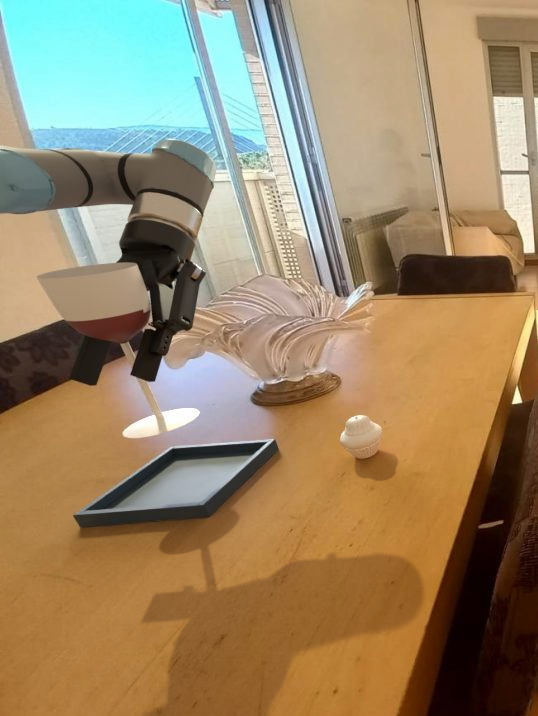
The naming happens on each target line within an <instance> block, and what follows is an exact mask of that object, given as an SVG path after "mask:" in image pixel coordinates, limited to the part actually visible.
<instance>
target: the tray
mask: <svg viewBox="0 0 538 716" xmlns="http://www.w3.org/2000/svg"><path fill="white" fill-rule="evenodd" d="M279 450H280V448H279V445H278V443H277V440H276V439H275V438H272V439H270V438H269V439H255V440H243V441H229V442H216V443H215V442H214V443H201V444H200V443H199V444H188V445H187V444H186V445H173V446H169V447H168V448H167V449H165V450H164V451H162V452H160V453H159V454H158V455H157V456H155V457H153V458H152V459H151V460H150V461H148V462H147V463H145V464H143V465H142V466H141V467H139V468H138V469H137V470H136V471H134V472H132V473H131V474H129V475H128V476H126V477H125V478H124V479H122V480H121V481H119V482H118V483H117V484H115V485H114V486H112V487H110V489H108V490H106V491H105V492H104V493H102V494H101V495H100V496H98V497H96V498H95V499H94V500H92V501H90V503H88V504H87V505H86V506H84V507H83V508H81V509H80V510H78V511H77V512H75V513H74V514H73V515H72V517H73V519H74V520H75V522H76V523H77V525H78V526H79V528H90V527H91V528H92V527H102V526H115V525H130V524H140V523H141V524H142V523H152V522H153V523H154V522H165V521H176V520H177V521H178V520H189V519H190V520H191V519H202V518H210V517H211V516H212V515H213V514H214V513H215V512H216V511H217V510H218V509H219V508H221V506H223V504H224V503H225V502H226V501H227V500H228V499H230V497H232V496H233V495H234V494H235V493H236V492H237V491H238V490H239V489H240V488H241V487H242V486H243V485H244V484H245V483H247V481H248V480H249V479H250V478H251V477H253V475H255V473H257V471H258V470H260V469H261V468H262V467H263V466H264V465H265V464H267V462H268V461H269V460H270V459H271V458H272V457H273V456H274V455H275V454H276V453H277V452H278V451H279Z"/></svg>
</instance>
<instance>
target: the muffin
mask: <svg viewBox="0 0 538 716" xmlns="http://www.w3.org/2000/svg"><path fill="white" fill-rule="evenodd" d="M344 426H345V428H344V430H343V432H342V433H341V434H340V438H339V442H340V445H342V447H344V449H345V450H346V451H347V452H348V453H350V454H351V455H352V456H354V457H355V458H356V459H359V460H363V459H368V458H370V457H371V458H372V457H373V456H374V455H376V454H377V453H378V451H379V448H380V444H381V441H382V435H383V428H382V427H381V426H380V424H377V423H376V422H374V421H372V420H371V419H370V418H369V416H367V415H365V414H364V415H363V414H358V415H355V416H352V417H350V418H348V420H347V421H346V422H345V425H344Z"/></svg>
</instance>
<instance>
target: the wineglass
mask: <svg viewBox="0 0 538 716" xmlns="http://www.w3.org/2000/svg"><path fill="white" fill-rule="evenodd" d="M36 279H37V280H38V282H39V284H40V286H41V287H42V289H43V291H44V292H45V294H46V296H47V297H48V299H49V300H50V302H51V303H52V305H53V307H54V308H55V310H56V311H57V313H58V314H59V315H60V316H61V318H62V319H63V320H64V321H65V322H66V323H67V324H69V325H71V326H72V327H73V328H74V329H75V330H77V331H78V332H80V333H82V334H84V335H86V336H89V337H92V338H96V339H100V340H107V341H112V342H114V343H118V344H119V345H120V347H121V350H122V352H123V354H124V355H125V357H126V359H127V362H128V363H129V366H130V367H131V369H132V367H133V364H134V361H135V358H136V355H135V352H134V350H133V349H132V346H131V344H130V342H129V341H130V340H131V339H133V337H135V336H136V335H137V334H139V333H140V332H141V331H142V330H143V329H145V327H146V326H147V325H148V323H149V321H150V319H151V312H152V311H151V301H150V295H149V293H148V291H147V290H146V287H145V284H144V281H143V278H142V275H141V273H140V270H139V268H138V265H137V264H136V263H116V262H112V263H111V262H109V263H98V264H90V265H89V264H88V265H81V266H74V267H68V268H62V269H58V270H53V271H52V270H51V271H49V272H44V273H41V274H38V275H37V276H36ZM78 332H77V333H78ZM80 333H79V334H80ZM112 342H111V343H112ZM135 378H136V380H137V382H138V384H139V386H140V388H141V391H142V392H143V394H144V397H145V398H146V401H147V403H148V405H149V408H151V411H152V413H153V415H150V416H147V417H145V418H142V419H139V420H138V421H136V422H134V423H132V424H130V425H129V426H127V427H126V428H125V429H124V430H123V431H122V433H121V434H122V436H123V437H124V438H128V439H142V438H149V437H153V436H156V435H161V434H165V433H168V432H170V431H174V430H176V429H179V428H181V427H183V426H185V425H187V424H189V423H191V422H193V421H195V420H196V419H197V417H199V414H200V410H198V409H197V408H191V407H188V408H186V407H185V408H177V409H176V408H175V409H171V410H167V411H162V410H161V408H160V406H159V404H158V401H157V399H156V397H155V395H154V392H153V390H152V388H151V386H150V384H149V382H148V381H145V380H142V379H140V378H137V377H135Z"/></svg>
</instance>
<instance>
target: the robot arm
mask: <svg viewBox="0 0 538 716" xmlns="http://www.w3.org/2000/svg"><path fill="white" fill-rule="evenodd" d="M216 173H217V165H216V163H215V161H214V159H213V158H212V157H211V156H210V155H209V154H208V152H206V151H205V150H203V149H202V148H200V147H198V146H197V145H195V144H194V143H190V142H188V141H185V140H181V139H177V138H165V139H162V140H159V141H157V142H156V143H155V146H154V147H152V149H151V153H141V152H129V153H128V152H117V151H104V150H92V149H91V150H90V149H84V148H77V147H75V148H71V147H70V148H69V147H63V148H25V147H14V146H7V145H2V144H0V214H2V215H3V214H10V215H11V214H12V215H28V214H32V213H37V212H46V211H53V210H62V209H64V210H65V209H71V208H72V209H73V208H84V207H85V208H86V207H95V206H105V205H125V206H127V205H129V206H130V205H131V209H130V211H129V214H128V216H127V223H125V225H124V228H123V231H122V233H121V237H120V238H119V241H118V245H119V246H118V247H119V248H120V252H121V257H119V259H118V260H117V261H116V262H115V263H136V264H137V265H138V268H139V270H140V273H141V275H142V278H143V281H144V284H145V287H146V290H147V292H149V300H150V307H151V311H150V312H151V322H148V323H147V325H148V326H150V327H151V328H144V331H143V333H142V337H141V340H140V343H139V346H138V350H137V353H136V355H135V357H136V358H135V361H134V364H133V367H132V368H131V371H130V373H129V375H130V376H131V377H134V378H136V377H137V378H140V379H142V380H145V381H147V382H148V383H154V382H156V380H157V376H158V373H159V370H160V366H161V364H162V359H163V357H166V356H167V354H168V353H169V350H170V348H171V343H172V341H173V337H174V336H176V335H177V334H178V332H181V331H184V332H188V331H191V330H192V329H193V327H194V321H195V314H196V310H197V304H198V297H199V291H200V285H201V283H202V282H203V280H204V278H205V277H206V275H207V271H206V270H204V269H203V268H202V267H200V266H199V265H197V264H196V263H194V262H193V261H191V260H192V257H193V254H194V250H195V247H196V244H195V242H196V241H197V238H198V236H199V232H200V228H201V226H202V222H203V218H204V216H205V215H204V214H205V211H206V208H207V205H208V202H209V199H210V197H211V194H212V191H213V190H214V187H215V184H214V183H215V179H216ZM66 328H67V329H68V330H70V331H73V332H75V333H77V334H80V338H79V341H78V343H77V346H76V349H75V352H74V357H75V361H74V364H73V367H72V368H71V371H70V374H69V377H68V380H71V381H75V382H77V383H81V384H82V385H87V386H91V387H92V386H97V385H98V382H99V379H100V376H101V374H102V370H103V368H104V364H105V362H106V359H107V356H108V353H109V350H110V349H111V345H112V341H107V340H100V339H96V338H92V337H89V336H86V335H84V334H82V333H80V332H78V331H77V330H75V329H74V328H73V327H72V326H71V325H69V324H68V323H67V324H66ZM153 328H154V329H153ZM137 378H136V379H137Z"/></svg>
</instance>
